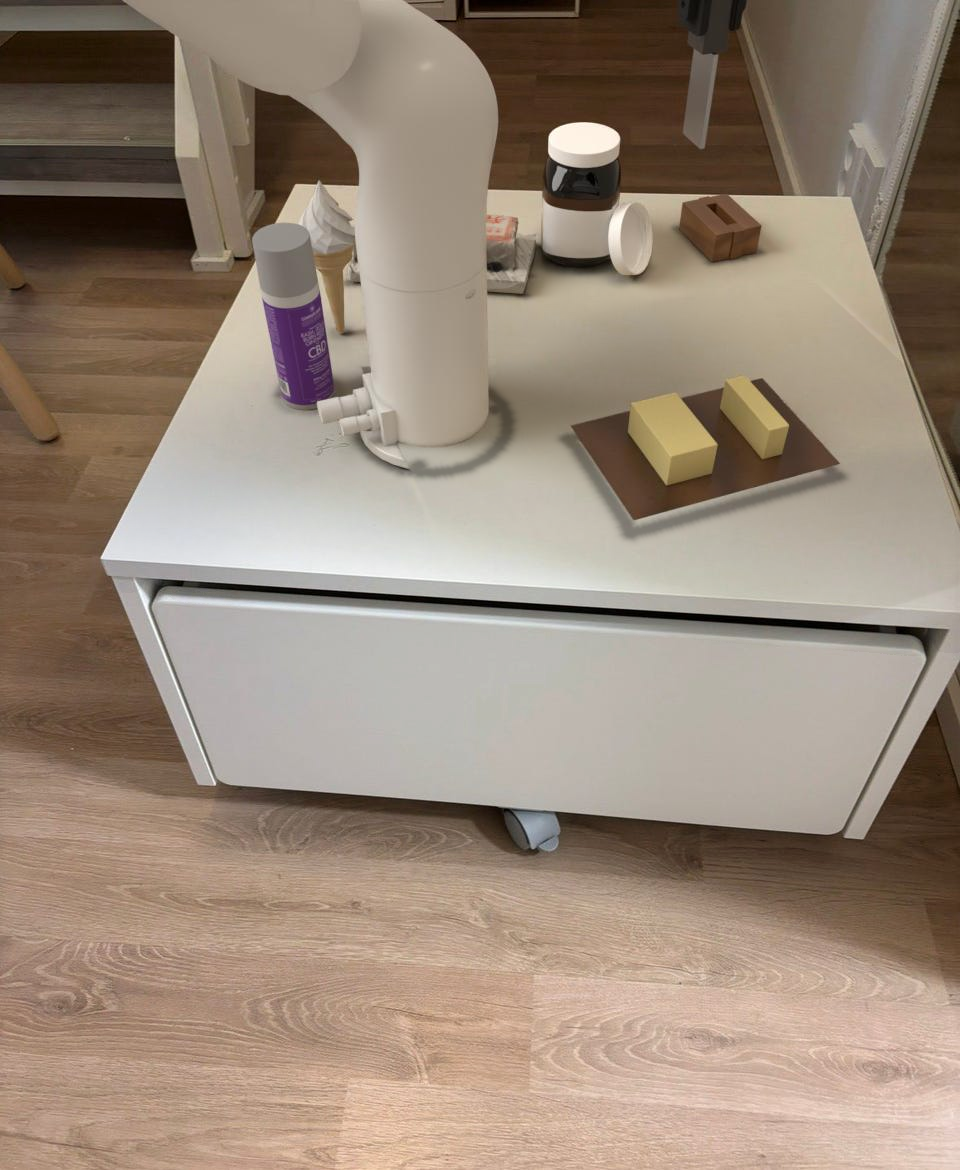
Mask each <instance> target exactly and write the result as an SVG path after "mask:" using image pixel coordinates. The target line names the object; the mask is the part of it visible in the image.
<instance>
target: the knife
mask: <svg viewBox="0 0 960 1170" xmlns="http://www.w3.org/2000/svg"><path fill="white" fill-rule="evenodd" d="M733 1H734V0H712V4H711V11H710V18H709V26H708V31H707V33H706V34H705V35H704V36H696V35H694V34H693V33H692V32H690V31H689V30H688V36H687V42H686V43H687V45H689V46H690V47H691V48H692V49H693V51H692V52H693V53H692V60H691V66H690V67H691V68H690V75H689V82H688V89H687V96H686V97H687V98H686V106H685V113H684V119H683V127H682V135H684V136H685V137H686V138H687V139H688V140H689V141H690V142H692V143H693V144H694V145H695V146H696V147H697V148H698V149H699V150H703V149H705V148H706V141H707V136H708V130H709V129H708V128H709V123H710V116H711V115H710V113H711V107H712V103H713V101H712V100H713V94H714V87H715V82H716V75H717V68H718V67H717V66H718V61H719V53H723V52H727V50H728V49H727V48H728V43H729V37H730V31H731V30H730V29H729V27H730V21H731V14H732V8H733Z"/></svg>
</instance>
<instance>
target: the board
mask: <svg viewBox="0 0 960 1170" xmlns="http://www.w3.org/2000/svg"><path fill="white" fill-rule="evenodd" d="M750 382H751V383H752V384H753V385H754V386H755V387H756V388H757V389H758V391H759V392H760V393H761V394H762V395H763V396H764V397H765V398H766V400H767V401H768V402H769V403H770V404H771V405H772V406H773V407H774V409H775V410H776V411H777V412H778V413H779V414H780V415H781V416H782V418H783V419H784V420H785V421H786V422H787V423H788V424H789V429H788V432H787V436H786V440H785V444H784V448H783V451H782V454H781V455H777V456H774V457H770V458H766V459H762V458H761V457H760V456H759V455H758V454H757V452H756V451H755V450H754V449H753V448H752V446H751V445H750V444H749V443H748V442H747V440H746V439H745V438H744V437H743V436H742V434H741V433H740V432H739V431H738V430H737V428H736V427H735V426H734V425H733V424H732V422H731V421H730V420H729V419H728V418H727V416H726V415H725V414H724V413H723V412H722V410H721V409H720V405H721V400H722V395H723V390H724V387H720V388H717V389H712V390H708V391H704V392H700V393H696V394H691V395H688V396H684V397H680V398H681V399H682V401H683V402H684V403H685V404H686V406H687V407H688V408H689V409H690V411H691V412H692V413H693V414H694V416H695V417H696V418H697V419H698V421H699V422H700V423H701V424H702V425H703V427H704V428H705V429H706V430H707V432H708V433H709V434H710V435H711V437H712V438H713V439H714V440H715V442H716V443H717V444H718V446H717V451H716V456H715V461H714V466H713V471H712V473H711V474H708V475H704V476H701V477H697V478H693V479H690V480H686V481H682V482H678V483H675V484H671V485H666V484H665V483H664V481H663V480H662V479H661V477H660V476H659V475H658V473H657V472H656V470H655V469H654V468H653V466H652V465H651V463H650V462H649V461H648V459H647V458H646V457H645V455H644V454H643V452H642V451H641V450H640V448H639V447H638V445H637V444H636V443H635V441H634V440H633V439H632V437H631V436H630V434H629V433H628V426H629V418H630V410H627V411H623V412H619V413H616V414H612V415H607V416H603V417H599V418H595V419H591V420H586V421H583V422H580V423H575V424H571V425H570V428H571V429H572V430H573V432H574V433H575V436H576V437H577V438H578V439H579V441H580V442H581V444H582V447H584V448H585V450H586V452H587V453H588V455H589V456H590V458H591V459H592V461H593V462H594V464H595V465H596V467H597V468H598V470H599V471H600V473H601V474H602V476H603V477H604V479H605V480H606V482H607V483H608V484H609V486H610V488H611V490H612V491H613V493H615V495H616V497H617V498H618V500H619V501H620V503H621V505H622V506H623V507H624V509H625V510H626V511H627V513H628V515H629V516H630V518H631V519H632V520H633V521H637V520H641V519H644V518H648V517H651V516H655V515H659V514H662V513H667V512H669V511H674V510H677V509H681V508H684V507H685V508H686V507H688V506H691V505H692V506H693V505H696V504H699V503H702V502H703V503H704V502H706V501H709V500H713V499H714V500H715V499H717V498H720V497H726V496H728V495H732V494H735V493H739V492H743V491H746V490H750V489H754V488H757V487H760V486H765V485H768V484H772V483H775V482H776V483H777V482H780V481H782V480H783V481H784V480H787V479H790V478H794V477H797V476H801V475H805V474H808V473H812V472H816V471H820V470H823V469H827V468H831V467H834V466H838V465H840V464H841V462H840V461H839V460H838V459H837V458H836V456H834V455H833V454H832V452H831V451H830V450H829V449H828V448H827V447H826V446H825V445H824V444H823V443H822V441H820V440H819V438H818V437H817V436H816V435H815V434H814V433H813V432H812V431H811V429H810V428H808V426H806V424H805V423H804V422H803V421H802V420H801V419H800V417H799V416H798V415H797V414H796V413H795V412H794V411H793V410H792V409H791V407H789V406H788V404H787V403H786V402H785V401H784V400H783V399H782V398H781V397H780V395H778V393H777V392H776V391H775V390H774V389H773V388H772V386H771V385H769V384H768V382H767V381H766V380H765V379H764V378H763V377H761V378H756V379H752V380H750Z"/></svg>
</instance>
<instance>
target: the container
mask: <svg viewBox="0 0 960 1170" xmlns="http://www.w3.org/2000/svg"><path fill="white" fill-rule="evenodd" d="M251 241H252V247H253V253H254V259H255V265H256V271H257V277H258V282H259V283H258V284H259V288H260V294H261V300H262V301H261V302H262V305H263V310H264V314H265V320H266V324H267V329H268V336H269V340H270V345H271V349H272V356H273V359H274V360H273V361H274V366H275V369H276V374H277V380H278V385H279V390H280V394H281V399H282V401H283V402H284V404H285V405H287V406H288V407H290V408H293V409H295V410H301V411H308V410H314V409H318V408H317V401H321V400H326V399H330V398H334V397H335V394H336V393H335V392H336V390H335V382H334V375H333V368H332V363H331V361H332V360H331V357H330V356H331V355H330V349H329V342H328V337H327V329H326V322H325V317H324V310H323V302H322V298H321V289H320V284H319V279H318V274H317V273H318V272H317V269H316V267H315V261H314V256H313V250H312V245H311V239H310V234H309V231H308V230H307V229H306V228H305V227H303V226H301V225H299V224H297V223H294V222H277V223H271V224H267V225H265V226H263V227H261V228H259V229H258V230H257V231H256V232H254V234H253V236H252V237H251Z"/></svg>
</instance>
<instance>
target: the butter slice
mask: <svg viewBox="0 0 960 1170" xmlns="http://www.w3.org/2000/svg"><path fill="white" fill-rule="evenodd" d="M750 381H751V380H750V379H749V378H748V376H746V375H745V374H743V375H737V376H734V377H731V378H730V377H729V378H726V379H725V380H724V385H723V388H724V390H723V395H722V400H721V405H720V409H721V410H722V412H723V413H724V414H725V415H726V416H727V418H728V419H729V420H730V421H731V422H732V424H733V425H734V426H735V427H736V428H737V430H738V431H739V432H740V433H741V434H742V436H743V437H744V438H745V439H746V440H747V442H748V443H749V444H750V445H751V446H752V448H753V449H754V450H755V451H756V452H757V454H758V455H759V456H760V457H761V458H762V459H766V458H770V457H774V456H777V455H781V454H782V451H783V448H784V444H785V440H786V436H787V432H788V429H789V424H788V423H787V422H786V421H785V420H784V419H783V418H782V416H781V415H780V414H779V413H778V412H777V411H776V410H775V409H774V407H773V406H772V405H771V404H770V403H769V402H768V401H767V400H766V398H765V397H764V396H763V395H762V394H761V393H760V392H759V391H758V389H757V388H756V387H755V386H754V385H753V384H752V383H751V382H750Z"/></svg>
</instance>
